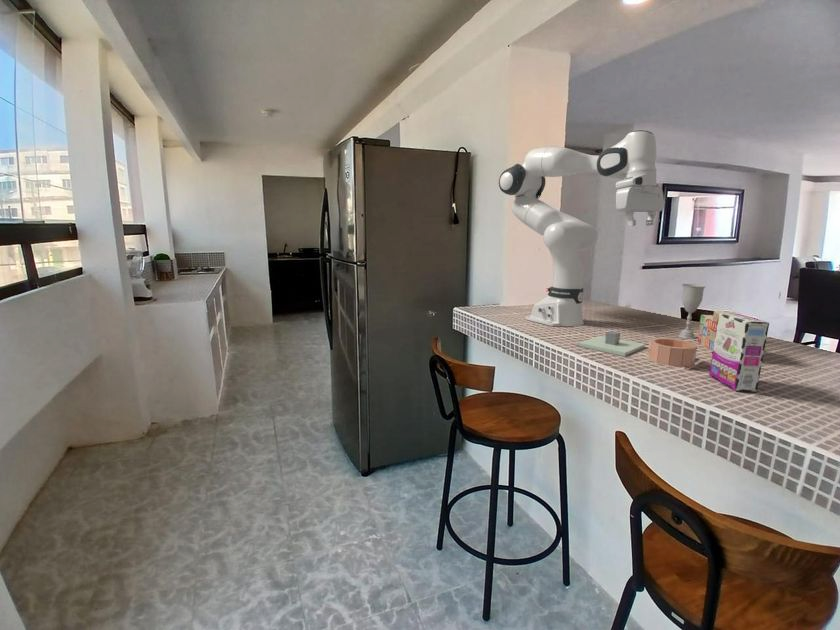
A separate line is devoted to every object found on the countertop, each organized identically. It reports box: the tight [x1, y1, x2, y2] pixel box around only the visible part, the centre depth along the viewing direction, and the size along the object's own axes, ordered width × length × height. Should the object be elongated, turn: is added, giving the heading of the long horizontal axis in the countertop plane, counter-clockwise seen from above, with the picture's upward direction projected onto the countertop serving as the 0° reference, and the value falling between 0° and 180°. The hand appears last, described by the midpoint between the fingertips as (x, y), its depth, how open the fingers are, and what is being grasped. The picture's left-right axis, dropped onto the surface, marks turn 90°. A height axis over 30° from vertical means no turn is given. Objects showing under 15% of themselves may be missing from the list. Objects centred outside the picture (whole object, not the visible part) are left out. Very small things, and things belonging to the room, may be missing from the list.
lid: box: [578, 330, 646, 357], centre depth 131 cm, size 14×14×4 cm
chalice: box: [678, 283, 707, 340], centre depth 145 cm, size 7×7×18 cm
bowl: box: [647, 337, 698, 369], centre depth 118 cm, size 11×11×6 cm
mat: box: [574, 343, 649, 358], centre depth 131 cm, size 16×16×1 cm
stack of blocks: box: [697, 310, 750, 350], centre depth 129 cm, size 21×6×12 cm, turn 166°
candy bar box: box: [709, 313, 770, 393], centre depth 100 cm, size 11×5×16 cm, turn 174°
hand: (640, 225), depth 139 cm, fingers open, 8 cm apart
